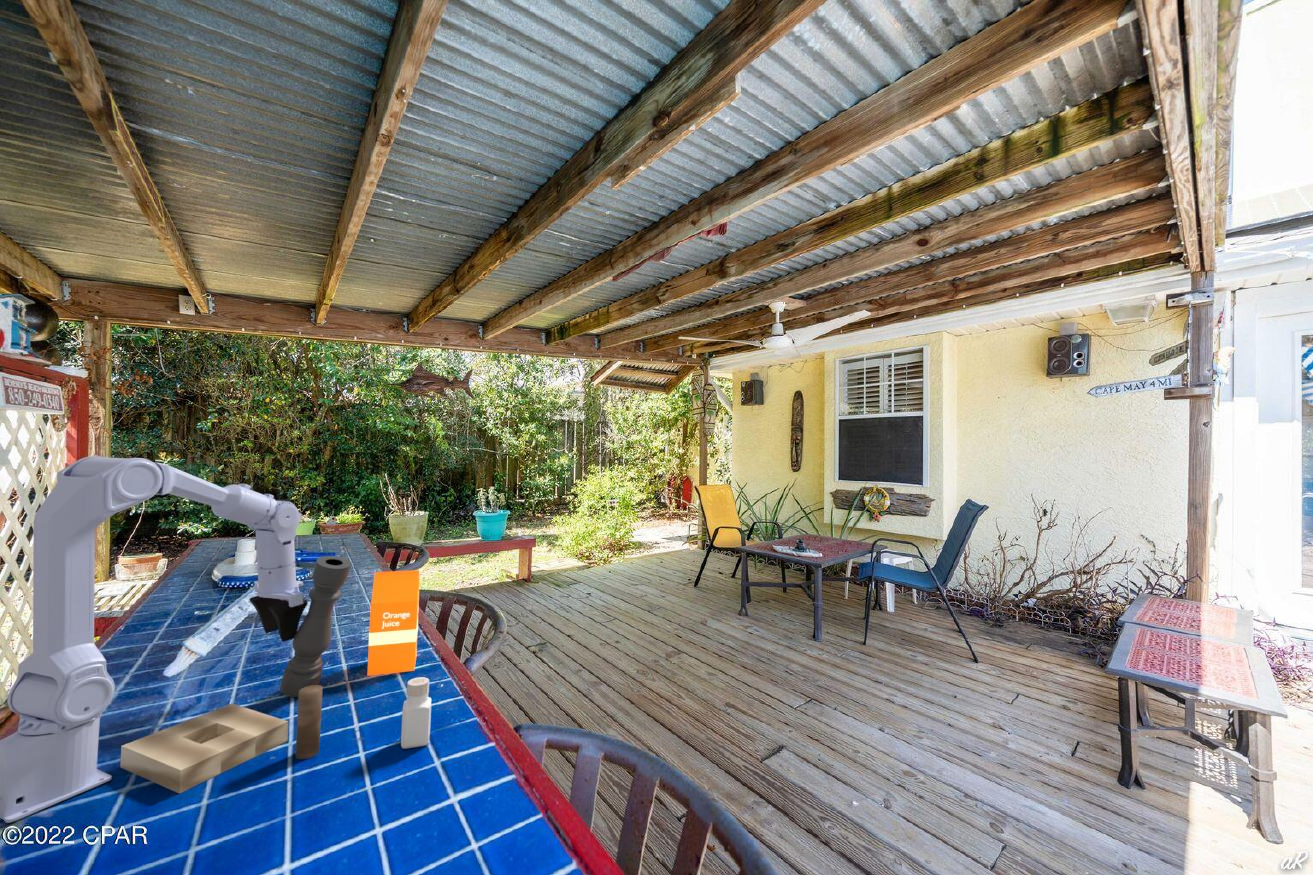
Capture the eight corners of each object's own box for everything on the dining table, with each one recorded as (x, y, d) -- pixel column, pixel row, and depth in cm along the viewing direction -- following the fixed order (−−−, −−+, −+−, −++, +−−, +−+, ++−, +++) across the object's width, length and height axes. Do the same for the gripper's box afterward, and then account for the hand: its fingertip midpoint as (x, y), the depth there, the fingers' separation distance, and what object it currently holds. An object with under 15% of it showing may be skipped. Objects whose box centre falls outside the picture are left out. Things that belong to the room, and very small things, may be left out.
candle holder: (272, 683, 98) (307, 557, 96) (307, 673, 103) (341, 553, 102) (289, 701, 95) (326, 571, 93) (324, 689, 100) (359, 566, 99)
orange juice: (414, 670, 110) (419, 574, 110) (366, 676, 107) (371, 576, 107) (416, 656, 117) (420, 566, 118) (371, 661, 114) (376, 568, 114)
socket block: (179, 793, 69) (180, 770, 70) (120, 767, 75) (121, 745, 75) (287, 740, 82) (288, 721, 83) (230, 721, 88) (231, 703, 88)
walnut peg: (304, 761, 77) (307, 695, 78) (290, 756, 79) (294, 691, 79) (324, 750, 80) (327, 687, 81) (310, 745, 81) (313, 683, 82)
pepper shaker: (402, 737, 85) (405, 677, 85) (429, 733, 86) (432, 674, 86) (400, 750, 81) (403, 688, 81) (428, 746, 82) (431, 684, 82)
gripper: (319, 565, 98) (322, 636, 99) (282, 552, 105) (285, 618, 106) (276, 576, 92) (280, 651, 93) (240, 562, 99) (244, 632, 100)
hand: (280, 635), depth 99 cm, fingers open, 6 cm apart
